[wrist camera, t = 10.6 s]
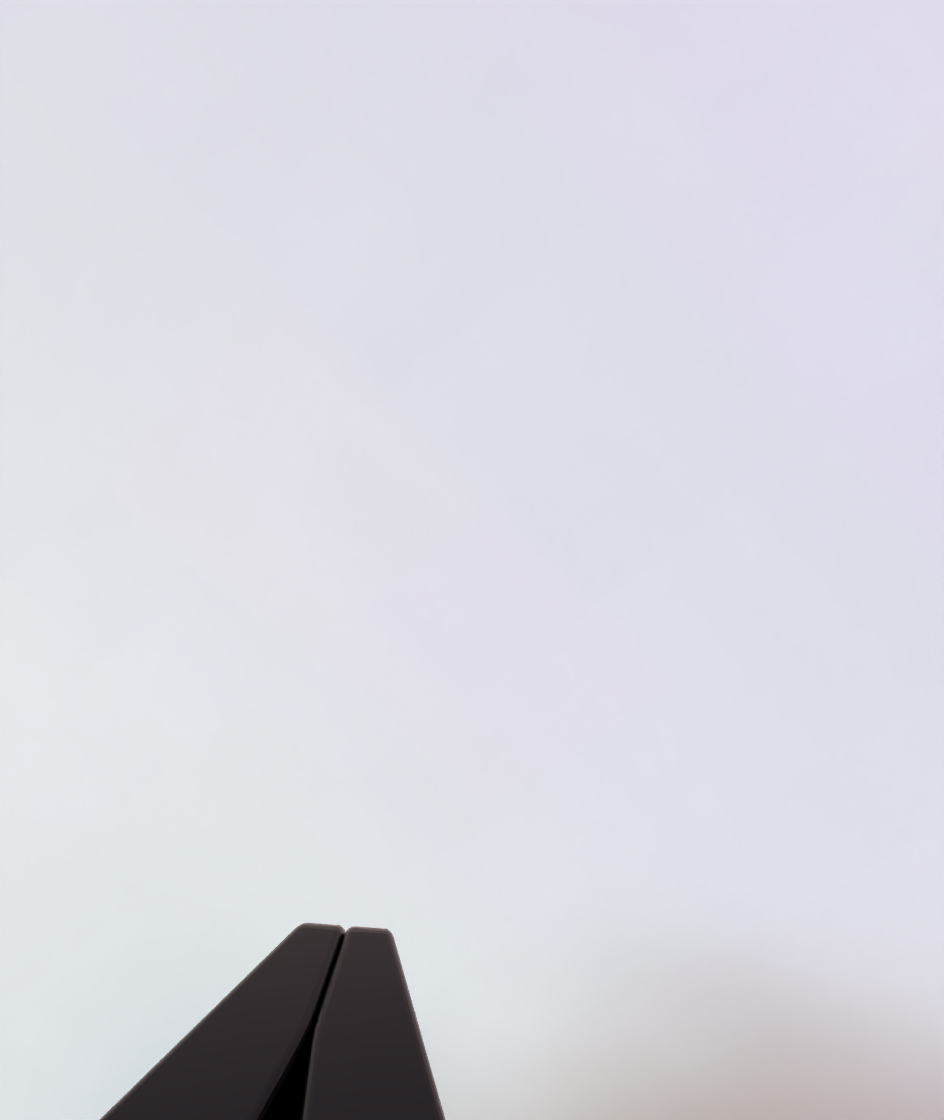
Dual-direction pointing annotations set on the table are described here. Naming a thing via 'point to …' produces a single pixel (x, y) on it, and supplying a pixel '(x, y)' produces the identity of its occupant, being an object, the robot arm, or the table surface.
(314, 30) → the table surface
